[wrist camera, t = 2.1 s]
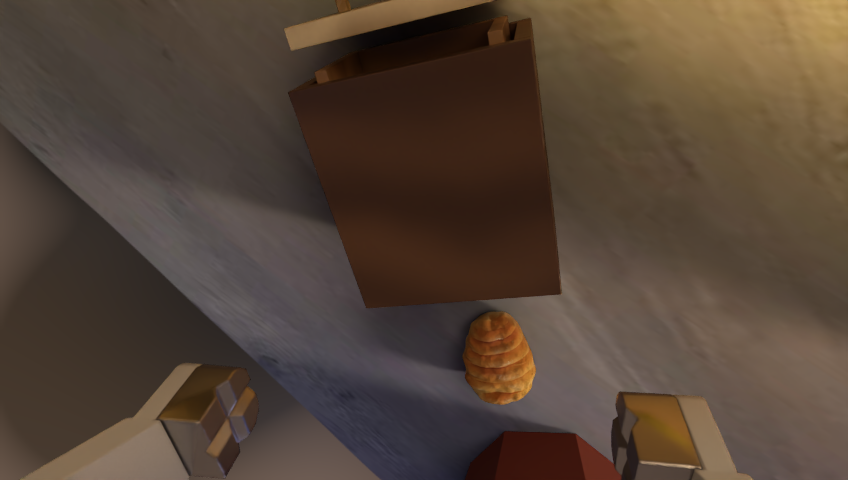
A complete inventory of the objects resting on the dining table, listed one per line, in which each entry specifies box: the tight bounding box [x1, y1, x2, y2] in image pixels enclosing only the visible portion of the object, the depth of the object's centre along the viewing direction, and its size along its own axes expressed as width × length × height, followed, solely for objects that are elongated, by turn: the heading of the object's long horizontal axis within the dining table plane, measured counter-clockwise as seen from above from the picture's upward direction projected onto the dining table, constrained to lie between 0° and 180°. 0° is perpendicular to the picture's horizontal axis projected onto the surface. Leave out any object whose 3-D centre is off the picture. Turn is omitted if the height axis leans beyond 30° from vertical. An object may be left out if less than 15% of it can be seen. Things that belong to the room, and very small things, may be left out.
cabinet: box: [288, 18, 562, 308], centre depth 33 cm, size 16×14×9 cm
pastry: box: [462, 311, 536, 404], centre depth 45 cm, size 9×7×4 cm
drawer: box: [284, 0, 511, 83], centre depth 30 cm, size 20×13×7 cm, turn 14°
